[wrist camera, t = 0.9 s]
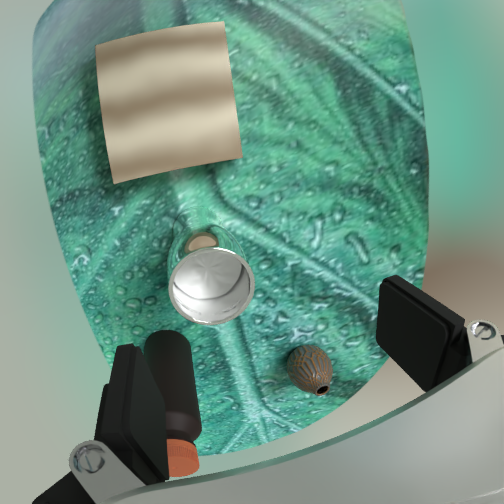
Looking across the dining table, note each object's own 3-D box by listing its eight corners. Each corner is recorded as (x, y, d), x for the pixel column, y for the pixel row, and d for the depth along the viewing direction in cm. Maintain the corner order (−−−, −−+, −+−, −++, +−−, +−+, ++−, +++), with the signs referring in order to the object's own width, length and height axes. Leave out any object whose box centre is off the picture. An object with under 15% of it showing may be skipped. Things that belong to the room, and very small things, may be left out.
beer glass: (168, 257, 36) (167, 328, 23) (170, 201, 34) (165, 244, 20) (224, 257, 38) (252, 326, 24) (228, 203, 36) (262, 245, 22)
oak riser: (101, 52, 25) (95, 45, 22) (219, 30, 27) (223, 21, 25) (119, 180, 31) (113, 184, 29) (237, 156, 34) (242, 157, 31)
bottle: (143, 361, 41) (140, 478, 23) (146, 325, 39) (139, 448, 21) (187, 366, 43) (204, 481, 25) (193, 331, 41) (214, 452, 23)
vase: (289, 336, 45) (311, 373, 37) (326, 338, 47) (351, 372, 39) (276, 369, 47) (293, 407, 39) (311, 369, 49) (331, 404, 41)
